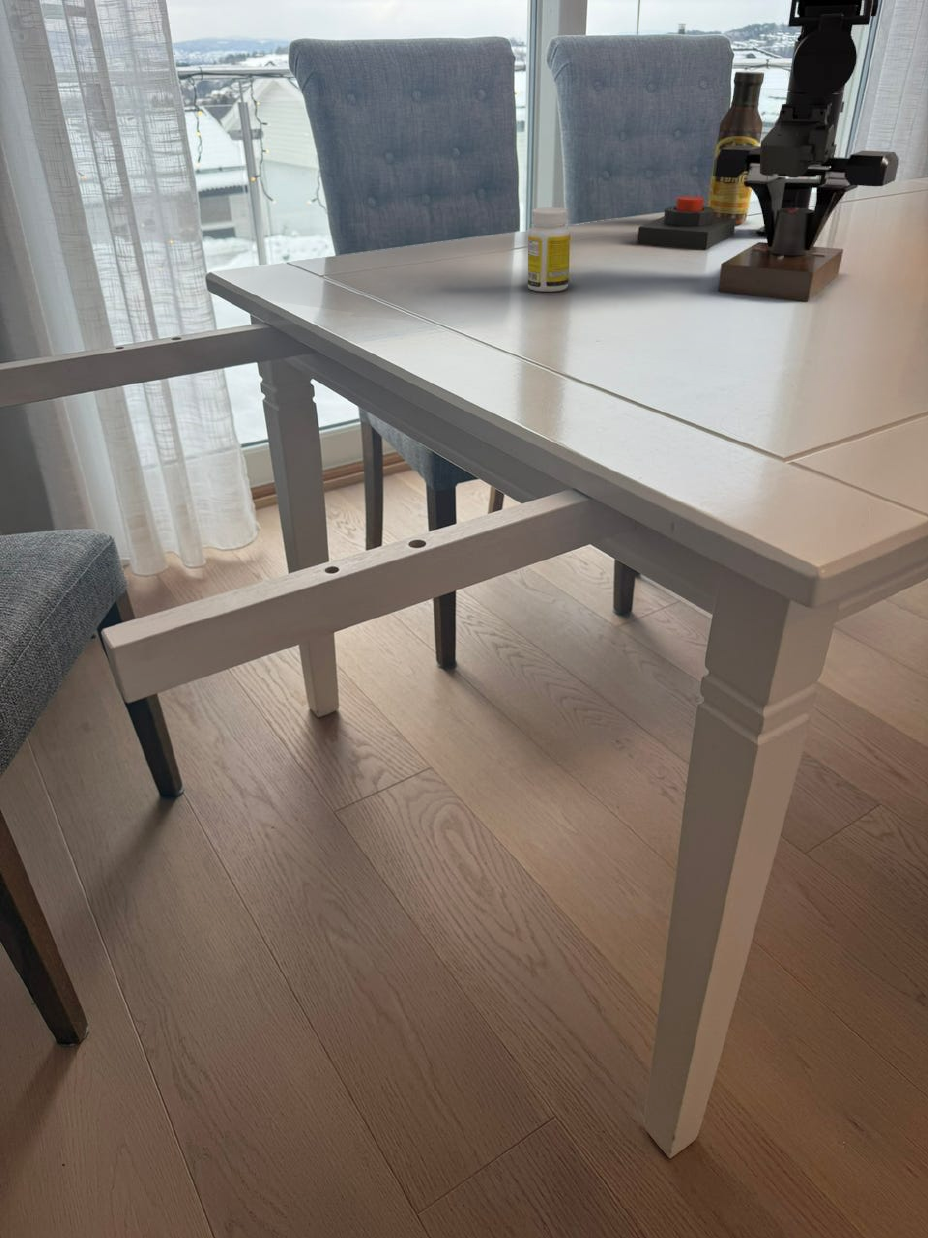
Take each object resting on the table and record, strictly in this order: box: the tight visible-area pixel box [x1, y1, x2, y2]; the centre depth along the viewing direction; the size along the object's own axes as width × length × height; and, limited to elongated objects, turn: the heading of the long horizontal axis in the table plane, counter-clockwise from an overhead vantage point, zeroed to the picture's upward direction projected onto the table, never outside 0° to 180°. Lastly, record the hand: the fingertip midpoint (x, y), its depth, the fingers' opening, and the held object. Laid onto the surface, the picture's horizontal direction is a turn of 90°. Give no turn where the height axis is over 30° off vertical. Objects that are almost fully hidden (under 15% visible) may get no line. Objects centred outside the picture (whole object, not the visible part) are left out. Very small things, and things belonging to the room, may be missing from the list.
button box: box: [636, 205, 736, 251], centre depth 127 cm, size 12×10×4 cm
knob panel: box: [717, 241, 844, 302], centre depth 104 cm, size 14×10×3 cm
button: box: [675, 195, 705, 211], centre depth 125 cm, size 4×4×2 cm
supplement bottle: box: [527, 206, 571, 293], centre depth 103 cm, size 5×5×8 cm
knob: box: [771, 207, 814, 256], centre depth 103 cm, size 4×4×5 cm
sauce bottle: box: [706, 71, 765, 226], centre depth 133 cm, size 6×6×20 cm
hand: (789, 247), depth 104 cm, fingers closed on knob, 4 cm apart
